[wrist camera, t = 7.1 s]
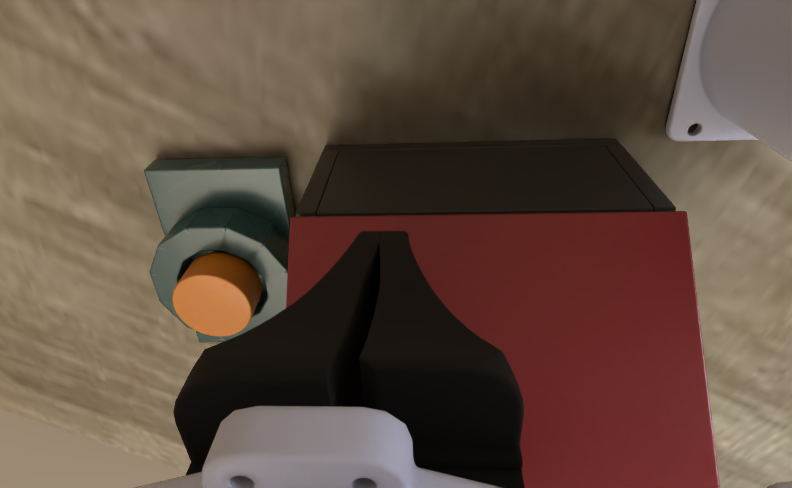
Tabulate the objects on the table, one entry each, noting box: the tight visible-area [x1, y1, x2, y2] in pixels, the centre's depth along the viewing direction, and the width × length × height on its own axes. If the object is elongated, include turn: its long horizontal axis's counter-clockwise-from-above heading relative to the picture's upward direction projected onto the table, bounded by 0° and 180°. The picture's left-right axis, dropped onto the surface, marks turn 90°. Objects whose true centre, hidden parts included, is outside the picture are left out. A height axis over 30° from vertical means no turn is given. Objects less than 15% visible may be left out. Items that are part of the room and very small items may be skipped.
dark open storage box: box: [296, 139, 676, 217], centre depth 22 cm, size 10×12×6 cm
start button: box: [172, 252, 262, 337], centre depth 23 cm, size 3×3×2 cm
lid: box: [286, 211, 720, 488], centre depth 15 cm, size 11×12×1 cm
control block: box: [144, 157, 296, 342], centre depth 25 cm, size 6×10×3 cm, turn 2°
